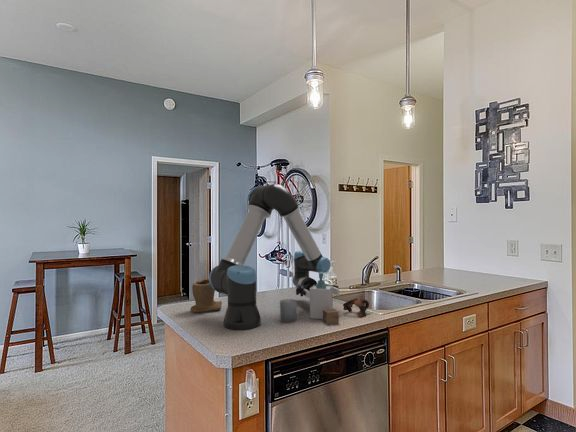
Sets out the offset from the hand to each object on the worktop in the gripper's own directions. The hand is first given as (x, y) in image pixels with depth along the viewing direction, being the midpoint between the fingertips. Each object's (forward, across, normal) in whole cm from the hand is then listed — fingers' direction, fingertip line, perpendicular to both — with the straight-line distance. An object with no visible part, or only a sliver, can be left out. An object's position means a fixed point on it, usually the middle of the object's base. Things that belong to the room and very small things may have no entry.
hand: (324, 293), depth 154 cm
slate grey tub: (-3, +15, -11) cm, 19 cm away
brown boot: (-30, +48, -11) cm, 57 cm away
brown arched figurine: (-1, -16, -11) cm, 19 cm away
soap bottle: (-3, 0, -11) cm, 11 cm away
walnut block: (+7, 0, -11) cm, 12 cm away
